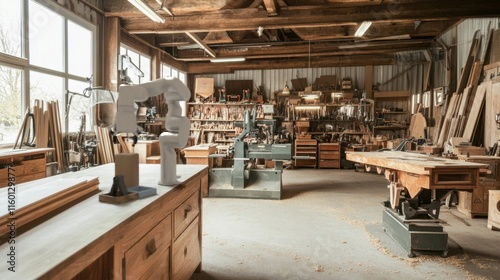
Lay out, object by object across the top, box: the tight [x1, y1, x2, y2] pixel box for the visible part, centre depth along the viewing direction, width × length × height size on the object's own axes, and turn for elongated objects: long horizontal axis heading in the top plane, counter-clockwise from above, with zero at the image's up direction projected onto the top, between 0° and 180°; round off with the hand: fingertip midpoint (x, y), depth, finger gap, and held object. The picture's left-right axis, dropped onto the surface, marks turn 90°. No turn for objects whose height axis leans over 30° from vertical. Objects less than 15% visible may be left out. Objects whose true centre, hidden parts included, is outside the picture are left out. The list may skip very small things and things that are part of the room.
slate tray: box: [127, 185, 158, 199], centre depth 164 cm, size 12×12×3 cm
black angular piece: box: [109, 175, 129, 197], centre depth 153 cm, size 9×6×12 cm, turn 91°
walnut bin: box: [98, 190, 139, 205], centre depth 153 cm, size 12×12×3 cm
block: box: [114, 152, 140, 191], centre depth 177 cm, size 10×10×20 cm
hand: (125, 144), depth 158 cm, fingers open, 9 cm apart
